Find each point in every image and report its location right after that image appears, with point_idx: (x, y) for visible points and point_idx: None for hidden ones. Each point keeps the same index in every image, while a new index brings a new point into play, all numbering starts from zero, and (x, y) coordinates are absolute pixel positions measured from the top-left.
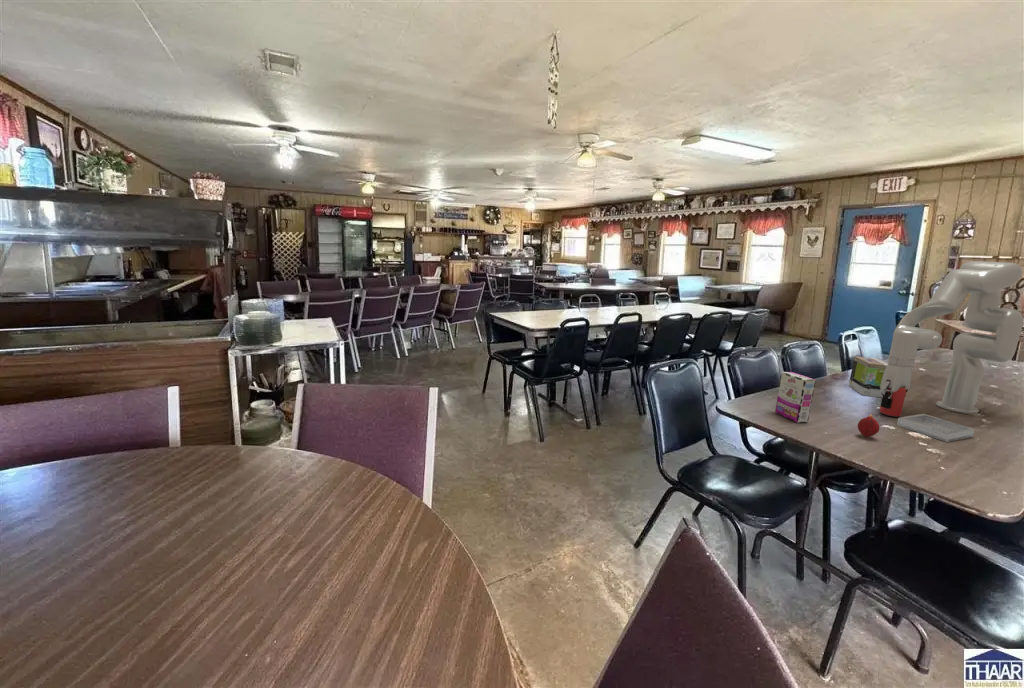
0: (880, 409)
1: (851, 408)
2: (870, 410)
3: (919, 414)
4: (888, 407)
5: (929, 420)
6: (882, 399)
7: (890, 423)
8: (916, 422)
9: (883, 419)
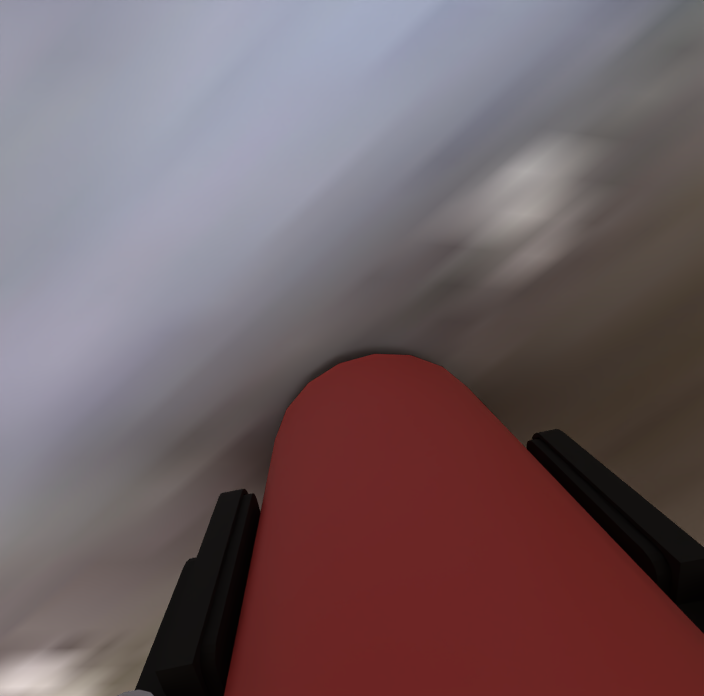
0: (284, 422)
1: (37, 159)
2: (283, 273)
3: None
4: None
5: None
6: (185, 608)
7: (143, 629)
8: None
9: (167, 542)
